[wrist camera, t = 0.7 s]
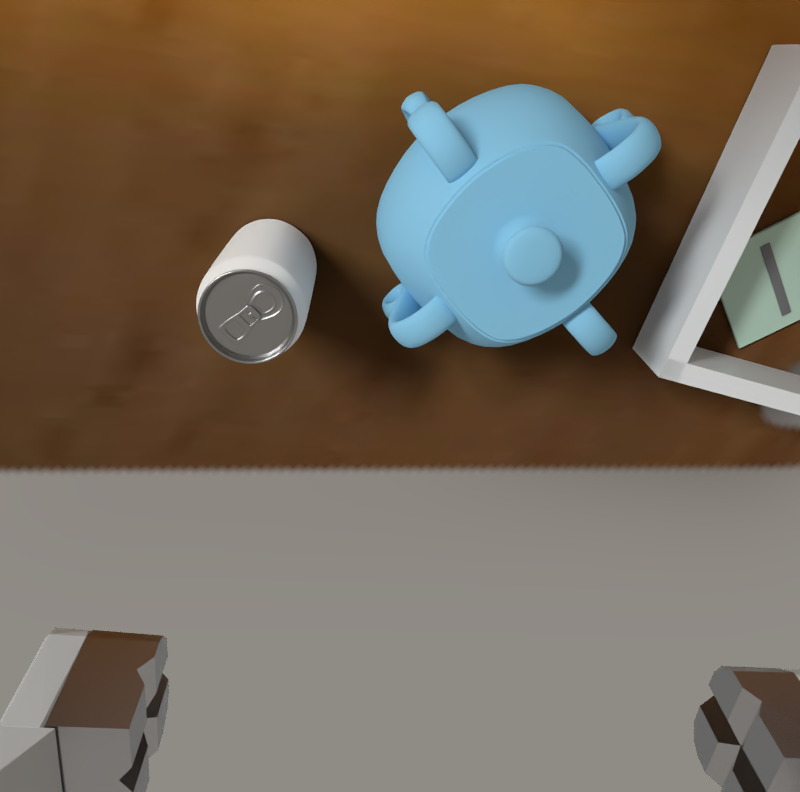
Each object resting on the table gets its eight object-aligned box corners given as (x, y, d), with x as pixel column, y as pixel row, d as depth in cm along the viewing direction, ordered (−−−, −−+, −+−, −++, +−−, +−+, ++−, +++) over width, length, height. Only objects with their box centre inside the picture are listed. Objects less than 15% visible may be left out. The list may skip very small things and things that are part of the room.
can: (336, 265, 52) (329, 321, 41) (273, 323, 54) (250, 391, 43) (270, 197, 50) (244, 237, 39) (207, 260, 51) (165, 315, 40)
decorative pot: (404, 56, 46) (417, 57, 34) (639, 109, 48) (731, 128, 36) (359, 296, 53) (357, 369, 41) (567, 334, 55) (625, 414, 43)
